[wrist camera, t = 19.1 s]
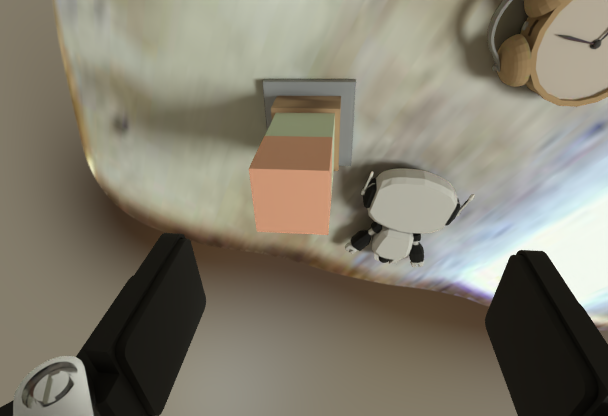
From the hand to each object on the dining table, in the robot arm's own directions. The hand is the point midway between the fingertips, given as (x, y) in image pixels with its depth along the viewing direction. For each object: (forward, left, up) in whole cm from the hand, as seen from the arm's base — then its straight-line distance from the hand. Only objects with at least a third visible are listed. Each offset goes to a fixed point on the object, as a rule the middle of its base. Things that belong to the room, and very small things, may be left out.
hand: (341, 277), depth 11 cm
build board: (-4, -8, -32) cm, 34 cm away
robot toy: (+8, -20, -33) cm, 39 cm away
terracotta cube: (-4, -8, -21) cm, 23 cm away
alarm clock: (+20, +1, -33) cm, 39 cm away
